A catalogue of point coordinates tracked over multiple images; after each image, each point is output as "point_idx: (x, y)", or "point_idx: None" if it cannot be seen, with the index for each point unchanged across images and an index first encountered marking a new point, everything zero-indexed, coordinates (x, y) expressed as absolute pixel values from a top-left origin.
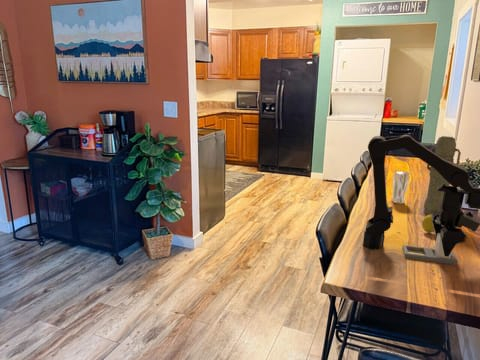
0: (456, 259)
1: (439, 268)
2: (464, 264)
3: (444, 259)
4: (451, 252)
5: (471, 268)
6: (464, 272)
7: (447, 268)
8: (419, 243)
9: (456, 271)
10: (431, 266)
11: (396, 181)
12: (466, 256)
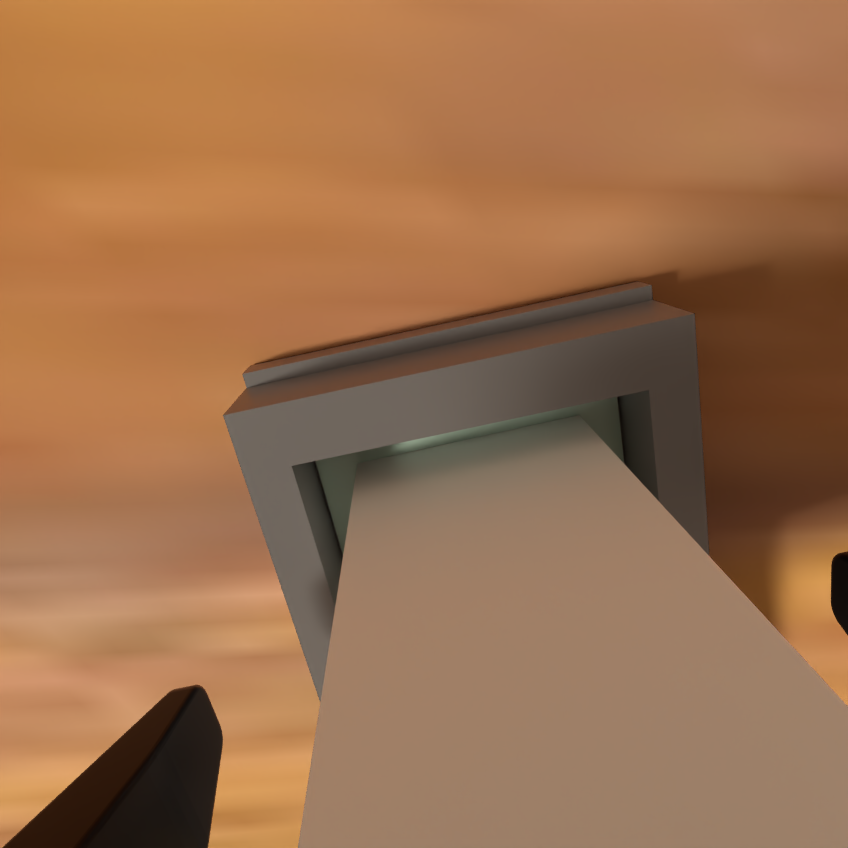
0: (635, 340)
1: (804, 531)
2: (459, 155)
3: (700, 535)
4: (657, 505)
5: (584, 25)
6: (816, 171)
7: (760, 430)
8: (17, 806)
9: (822, 301)
10: (777, 623)
11: None
12: (8, 93)
